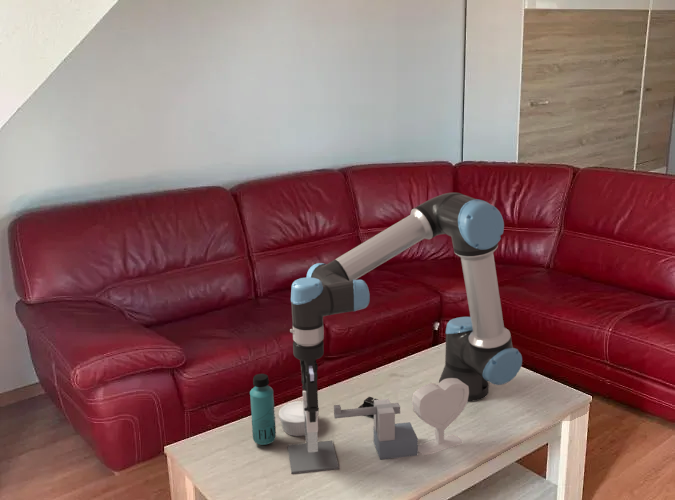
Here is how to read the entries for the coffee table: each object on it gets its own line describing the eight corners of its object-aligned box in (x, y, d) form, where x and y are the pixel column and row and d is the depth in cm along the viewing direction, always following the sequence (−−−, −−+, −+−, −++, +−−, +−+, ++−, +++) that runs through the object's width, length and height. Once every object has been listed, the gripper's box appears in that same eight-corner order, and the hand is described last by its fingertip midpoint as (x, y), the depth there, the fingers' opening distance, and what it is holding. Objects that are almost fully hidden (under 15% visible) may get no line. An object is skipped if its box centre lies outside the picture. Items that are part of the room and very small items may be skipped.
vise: (409, 438, 182) (410, 391, 178) (417, 455, 174) (418, 406, 170) (333, 446, 179) (332, 399, 175) (337, 464, 171) (336, 415, 167)
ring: (314, 434, 177) (313, 400, 174) (317, 451, 169) (317, 416, 166) (304, 435, 177) (303, 401, 174) (308, 452, 169) (306, 417, 166)
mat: (332, 442, 181) (332, 440, 181) (338, 468, 170) (338, 466, 169) (287, 446, 179) (287, 444, 179) (291, 474, 168) (291, 471, 168)
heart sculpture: (420, 457, 173) (421, 395, 168) (409, 447, 178) (410, 386, 172) (468, 441, 180) (471, 381, 175) (457, 432, 184) (459, 373, 179)
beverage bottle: (256, 452, 177) (252, 384, 171) (249, 439, 183) (245, 373, 177) (280, 446, 180) (276, 379, 174) (272, 433, 185) (268, 368, 179)
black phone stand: (396, 415, 195) (396, 400, 193) (383, 426, 189) (383, 412, 188) (360, 403, 201) (360, 389, 200) (346, 413, 196) (346, 399, 194)
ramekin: (283, 441, 182) (282, 424, 180) (276, 420, 192) (275, 404, 191) (323, 435, 185) (323, 418, 183) (314, 414, 195) (313, 398, 193)
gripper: (289, 324, 174) (292, 402, 181) (296, 360, 154) (299, 446, 161) (318, 322, 175) (319, 400, 182) (329, 357, 155) (330, 443, 162)
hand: (310, 422), depth 171 cm, fingers closed on ring, 8 cm apart
